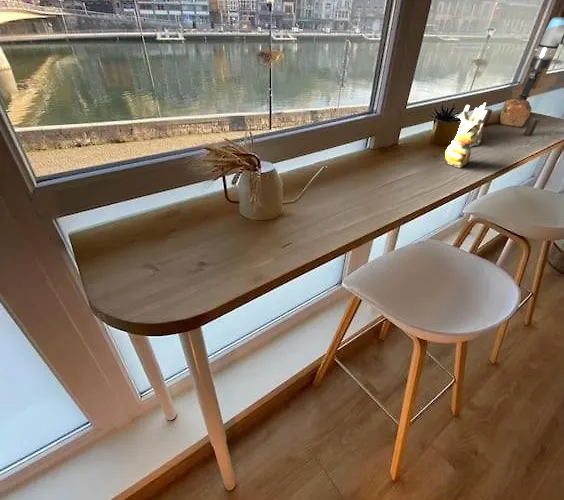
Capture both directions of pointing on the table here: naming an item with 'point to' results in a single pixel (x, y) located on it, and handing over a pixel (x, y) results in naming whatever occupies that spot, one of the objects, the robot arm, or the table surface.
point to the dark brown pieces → (528, 131)
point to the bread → (515, 112)
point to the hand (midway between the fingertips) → (517, 110)
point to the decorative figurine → (462, 145)
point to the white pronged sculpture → (476, 116)
